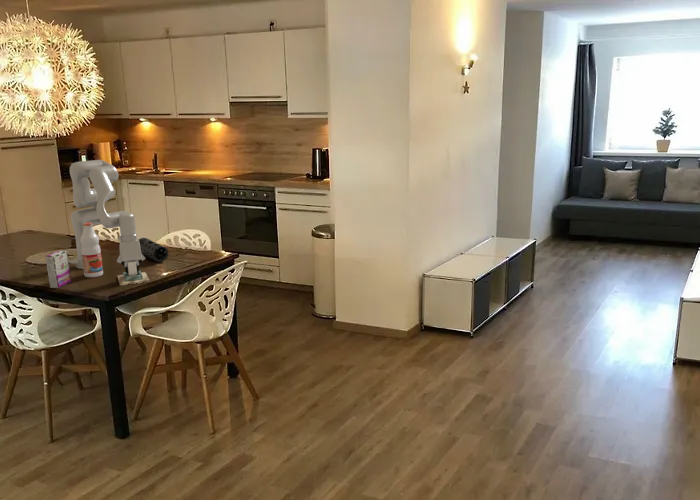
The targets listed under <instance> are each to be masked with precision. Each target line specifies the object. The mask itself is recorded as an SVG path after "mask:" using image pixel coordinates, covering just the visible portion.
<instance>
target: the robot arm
mask: <svg viewBox="0 0 700 500" xmlns="http://www.w3.org/2000/svg"><path fill="white" fill-rule="evenodd" d="M69 175H70V178H71V181H72V196H73V197H72V201H73V205H74V206H75V207H76V208H78V209H77V210H73V212H72V213H71V215H70V221H71V224H72V227H73V233H74V237H75V244H76V245H75V246H76V254H77V258H75V259H74V260H73V259H72V260H68V262H69V265H75V268H77V269H80V270H81V269H82V270H84V269H83V262H82V254H81V248H82V245H81V242H80V238H81V236H82V234H83V229H84V227H83V223H85V222H92V223H93V226H95V225H100V224H101V225H102V227H103V228H105V229H114V228H118V227H119V233H120V234H119V235H120V236H117V240H119V255H118V257H117V259H116V263H118V264H121V265H122V266H124V268H125V269H124V270H125V271H124V272H126V273H127V274H129V273H128V265H127V261H134V260H135V261H136V267H137V273H138V271H139V270H140V264H141V263H142V262H143V261H144V260H146V256H145V255H143V254H142V253H141V248H140V243H139V238H138V236H137V229H136V219H135V215H134V214H133V213H132V212H130V213H129V212H127V211H125V210H119V211H114V212H109V213H108V212H107V211H106V207H105V206H106V204H105V203H106V202H107V201H109V200H110V199H111V200H112V198H113V197H114V196H115V195H116V190H115V188H114V186H113V184H112V182H113V183H114V182H116V181H118V180H119V176H120V175H119V171H118V169H117V168H116V167H115V166H114V165H113V164H111V163H109V162H107V161H106V160H102V159H95V160H93V159H91V160H82V161H75V162H73V163H71V164H70V166H69ZM90 181H91V182H90ZM91 184H92V186H93V188H91ZM80 208H81V209H80Z"/></svg>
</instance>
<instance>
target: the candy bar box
mask: <svg viewBox="0 0 700 500" xmlns="http://www.w3.org/2000/svg"><path fill="white" fill-rule="evenodd" d="M68 257H69V256H68V251H67V250H57V251H55V252H52V253H50V254H48V255H46V256H45V263H46V270H47V275H48V281H49V288H50V289H60V288H62V287H63V286H66V285H68V284H70V283H72V277H71V269H70V262H69V258H68Z"/></svg>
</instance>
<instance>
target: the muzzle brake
mask: <svg viewBox="0 0 700 500" xmlns="http://www.w3.org/2000/svg"><path fill="white" fill-rule="evenodd" d="M138 240H139V243H140V248H141V253H142V254H143V256H145V258H146V257H147V258H150V259H151V260H154V261H156V262H158V263H159V264H162V263H163V262H164V261H167V259H168V257H169V254H170V253H169V249H168V248H167V247H166V246H164V245H162V244H160V243H158V242H155V241H153V240H151V239H149V238H147V237H141V238H138Z"/></svg>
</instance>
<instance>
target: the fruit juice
mask: <svg viewBox="0 0 700 500" xmlns="http://www.w3.org/2000/svg"><path fill="white" fill-rule="evenodd" d="M93 226H94V225H93V223H92V222H85V223H83V227H84V229H83V234H82V236H81V238H80V242H81V245H82V248H81V254H82V262H83V269H82V270H83V274H84V277H85V278H96V277H97V278H98V277H101V276H103V274H104V268H103V266H104V265H103V257H102V252H101V251H102V250H101V246H100V244H99V242H100V237H99V235H97V233H96V231H95V230H94V227H93Z"/></svg>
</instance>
